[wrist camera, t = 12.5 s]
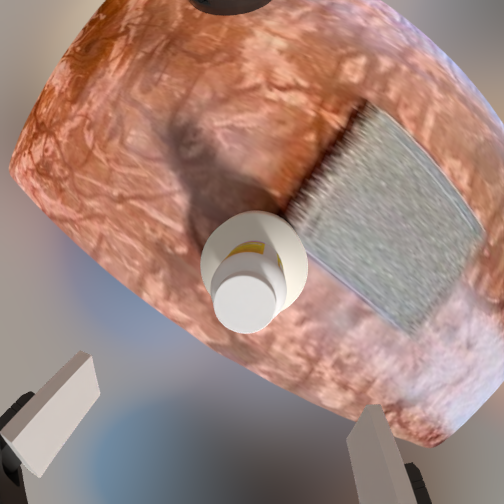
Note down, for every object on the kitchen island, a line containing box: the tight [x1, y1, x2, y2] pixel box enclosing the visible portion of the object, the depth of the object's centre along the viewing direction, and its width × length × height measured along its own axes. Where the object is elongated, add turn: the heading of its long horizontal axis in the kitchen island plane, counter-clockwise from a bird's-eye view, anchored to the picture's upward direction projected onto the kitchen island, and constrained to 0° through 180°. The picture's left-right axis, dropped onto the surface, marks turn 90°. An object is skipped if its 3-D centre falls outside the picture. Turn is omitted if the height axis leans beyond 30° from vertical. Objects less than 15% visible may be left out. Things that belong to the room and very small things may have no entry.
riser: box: [200, 210, 308, 312], centre depth 36 cm, size 13×13×6 cm
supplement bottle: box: [210, 241, 287, 333], centre depth 26 cm, size 7×7×13 cm
